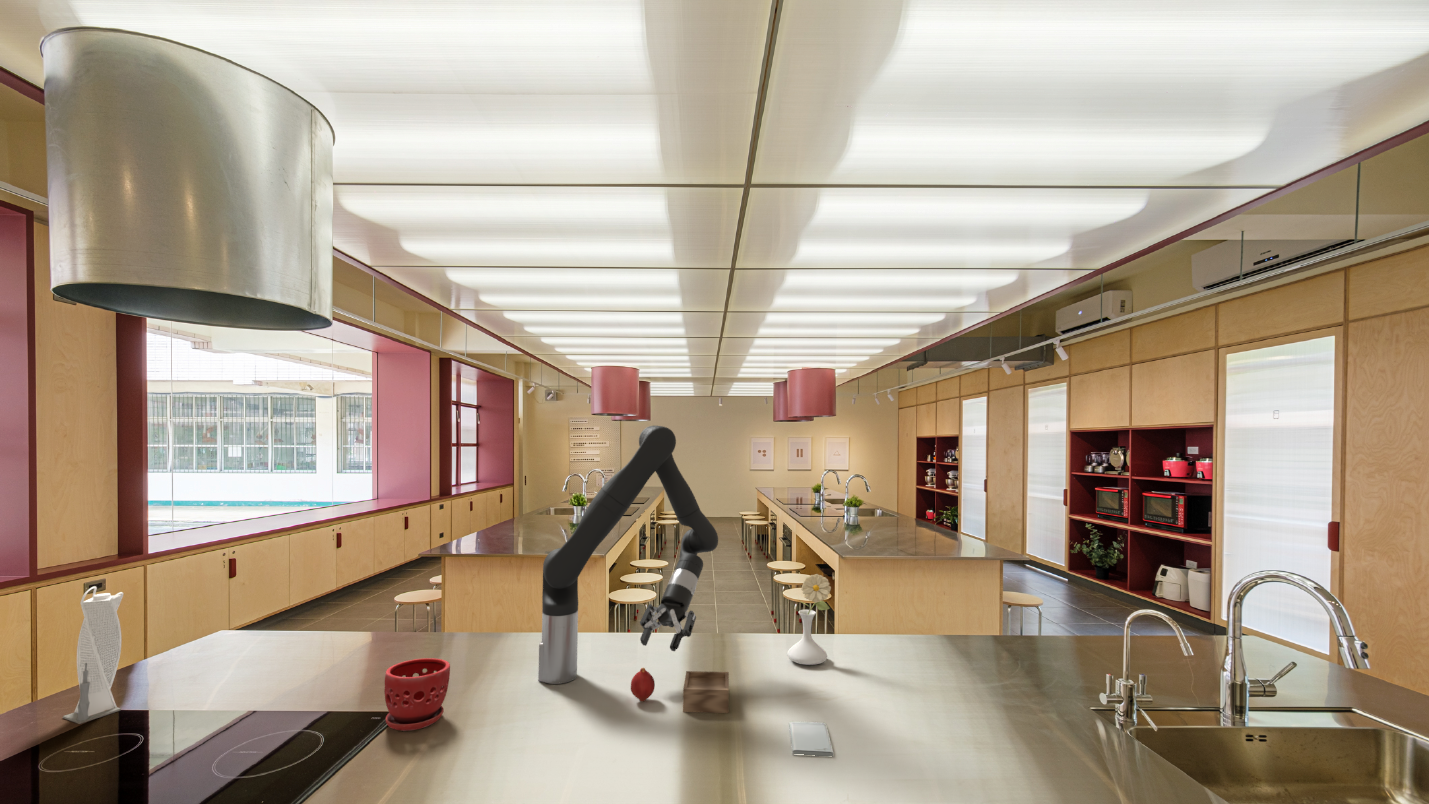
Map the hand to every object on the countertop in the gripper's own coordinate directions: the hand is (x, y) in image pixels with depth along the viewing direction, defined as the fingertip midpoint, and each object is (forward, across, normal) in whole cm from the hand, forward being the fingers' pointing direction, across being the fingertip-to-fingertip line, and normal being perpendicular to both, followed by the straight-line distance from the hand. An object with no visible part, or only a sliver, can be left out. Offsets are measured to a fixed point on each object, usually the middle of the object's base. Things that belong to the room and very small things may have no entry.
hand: (657, 646), depth 152 cm
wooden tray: (+8, +14, +8) cm, 18 cm away
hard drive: (+13, +42, +4) cm, 44 cm away
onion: (+12, 0, +3) cm, 13 cm away
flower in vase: (-18, +29, +34) cm, 48 cm away
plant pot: (+35, -40, -19) cm, 56 cm away
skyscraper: (+56, -108, -41) cm, 128 cm away
